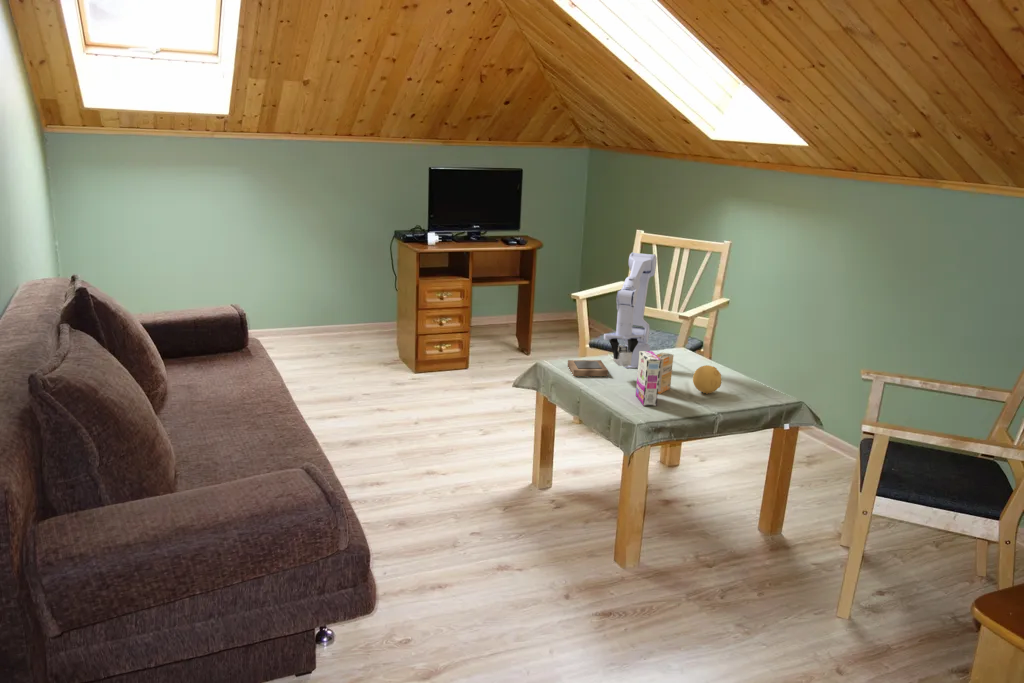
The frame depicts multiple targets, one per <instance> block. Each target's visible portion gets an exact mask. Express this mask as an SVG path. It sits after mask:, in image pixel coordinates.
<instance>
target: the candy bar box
mask: <svg viewBox="0 0 1024 683" xmlns="http://www.w3.org/2000/svg"><path fill="white" fill-rule="evenodd" d="M656 355H657V354H656V353H655V352H654V351H653V350H652V351H651V350H650V351H639V363H638V368H637V375H636V387H635V397H636V398H637V400H639V402H640V403H641V404H642V406H644V407H658V406H657V404H658V396H659V394H658V385H659V376H660V365H661V360H660V359H659V358H658V357H657V356H656Z"/></svg>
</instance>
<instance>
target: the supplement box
mask: <svg viewBox="0 0 1024 683" xmlns="http://www.w3.org/2000/svg"><path fill="white" fill-rule="evenodd" d="M655 355H656V356H657V357H658V358H659V359H660V360H661V365H660V376H659V385H658V395H661V394H662V393H665V392H666V391H669V390H670V389H671V385H672V384H671V383H672V375H673V374H672V373H673V365H674V354H673V353H669V352H660V353H657V354H655Z"/></svg>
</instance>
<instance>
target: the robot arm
mask: <svg viewBox="0 0 1024 683" xmlns="http://www.w3.org/2000/svg"><path fill="white" fill-rule="evenodd" d="M657 259H658V258H657V255H656V254H649V253H639V252H634V251H633V252H631V253H629V257H628V268H629V271H630V274H629V276H626V278H625V280H624V282H623V284H622V287H621V289H620V290H617V293H616V299H615V300H616V301H615V302H616V310H617V316H616V327H615V328H616V331H615V332H612V333H611V332H610V333H604V334H603V340H605V341H609V343H610V346H611V351H612V354H613V356H614V359H617V355H618V347H619V346H620V343H619V340H622V341H623V342H624V344H625V345H624V346H627V347H628V349H629V350H630V351H631V352H632V359H631V366H628V367H625V369H626V368H627V369H638V363H639V351H651V346H650V344H649V339H650V324H649V323H648V322H647V321H646V320H645V319H644V316H645V309H646V303H647V302H646V301H647V295H648V288H649V281H650V279H651V278H652V277H655V273H656V268H657Z"/></svg>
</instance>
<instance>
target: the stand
mask: <svg viewBox="0 0 1024 683" xmlns="http://www.w3.org/2000/svg"><path fill="white" fill-rule="evenodd" d="M568 367H569V368H568ZM567 368H568V370H569V369H570V370H569V371H570V373H571V372H572V373H571V375H572V374H573V375H572V376H588V377H587V378H591V377H592V376H609V369H608V368H607V366H605V364H604V363H603V361H602V360H601V359H594V360H593V359H587V360H586V359H583V360H581V359H575V360H574V359H572V360H571V359H568V360H567ZM589 376H591V377H589Z"/></svg>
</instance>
